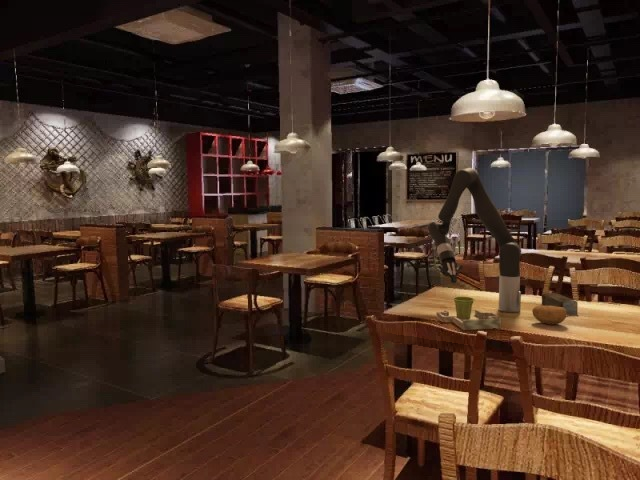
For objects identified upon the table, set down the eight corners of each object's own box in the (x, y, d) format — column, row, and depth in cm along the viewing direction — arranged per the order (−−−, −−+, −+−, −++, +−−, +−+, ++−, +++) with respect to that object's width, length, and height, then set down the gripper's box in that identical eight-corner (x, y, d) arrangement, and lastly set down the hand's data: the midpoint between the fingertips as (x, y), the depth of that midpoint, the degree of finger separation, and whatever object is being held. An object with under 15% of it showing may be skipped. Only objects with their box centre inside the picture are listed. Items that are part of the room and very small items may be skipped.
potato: (533, 319, 232) (533, 302, 231) (567, 323, 225) (567, 305, 225) (530, 324, 224) (530, 306, 223) (565, 328, 217) (566, 310, 216)
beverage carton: (562, 314, 241) (562, 300, 240) (540, 305, 260) (541, 292, 259) (577, 313, 242) (578, 300, 241) (555, 304, 261) (555, 291, 260)
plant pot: (454, 319, 233) (454, 300, 232) (451, 314, 242) (452, 296, 241) (475, 319, 232) (475, 301, 231) (472, 314, 241) (472, 296, 240)
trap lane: (486, 314, 242) (486, 305, 241) (510, 327, 219) (510, 318, 218) (434, 316, 239) (434, 307, 238) (453, 330, 216) (453, 321, 215)
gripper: (435, 249, 254) (443, 278, 243) (460, 249, 256) (469, 277, 245) (431, 258, 260) (439, 287, 249) (456, 258, 262) (465, 286, 251)
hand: (454, 282), depth 247 cm, fingers closed
